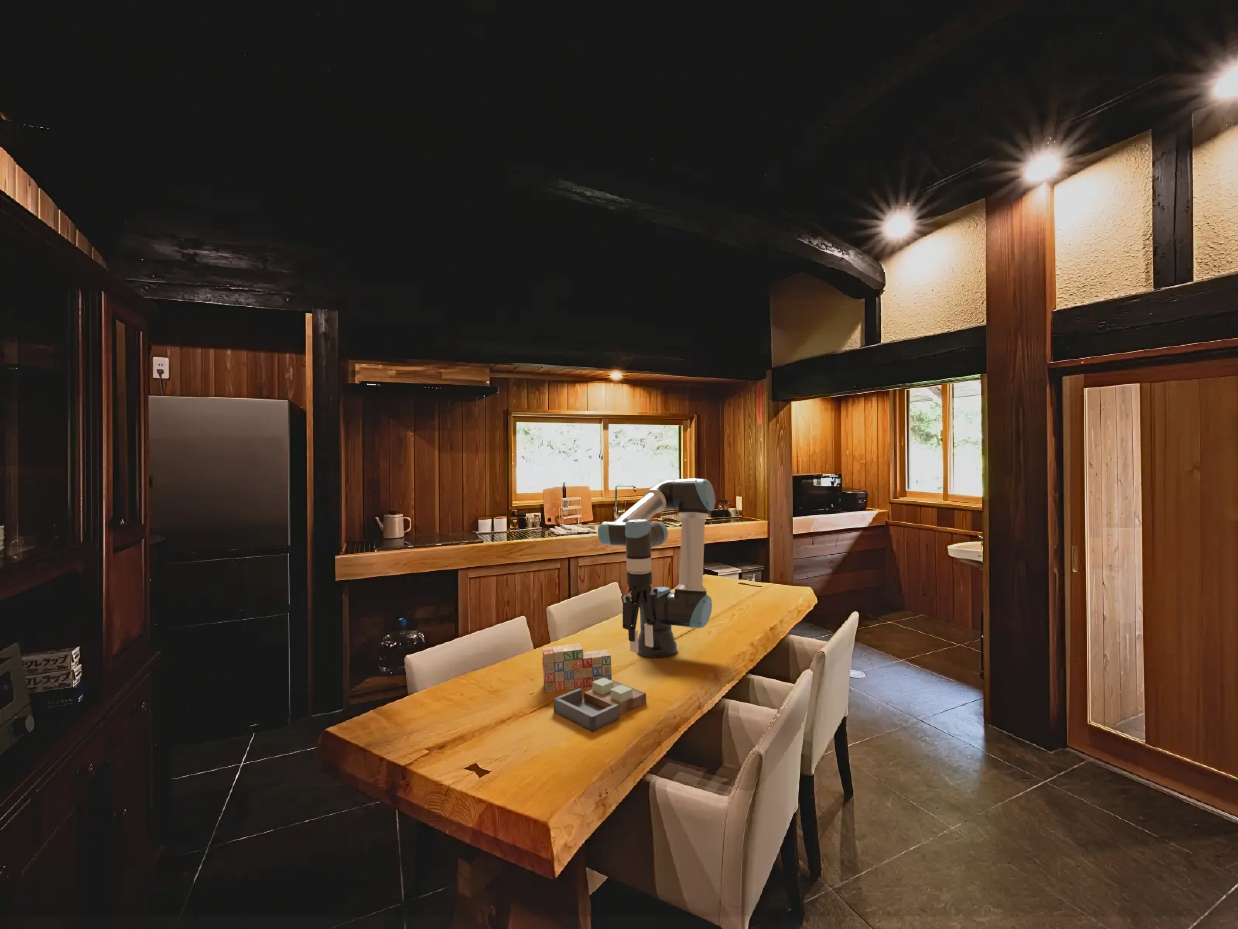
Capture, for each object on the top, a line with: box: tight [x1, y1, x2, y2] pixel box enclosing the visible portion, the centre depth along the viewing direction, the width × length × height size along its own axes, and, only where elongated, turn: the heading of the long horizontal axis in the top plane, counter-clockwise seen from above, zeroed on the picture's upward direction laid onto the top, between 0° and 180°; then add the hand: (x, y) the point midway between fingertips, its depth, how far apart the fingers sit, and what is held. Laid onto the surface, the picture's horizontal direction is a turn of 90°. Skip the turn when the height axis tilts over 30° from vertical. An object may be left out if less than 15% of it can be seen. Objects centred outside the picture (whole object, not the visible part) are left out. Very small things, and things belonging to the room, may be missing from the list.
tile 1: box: [591, 678, 614, 695], centre depth 163 cm, size 4×4×2 cm
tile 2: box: [610, 684, 633, 703], centre depth 157 cm, size 4×4×2 cm
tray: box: [552, 688, 621, 733], centre depth 153 cm, size 10×17×4 cm, turn 43°
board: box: [583, 680, 647, 717], centre depth 161 cm, size 12×14×3 cm
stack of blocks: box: [542, 643, 613, 693], centre depth 175 cm, size 21×6×12 cm, turn 103°
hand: (641, 648), depth 163 cm, fingers open, 6 cm apart
